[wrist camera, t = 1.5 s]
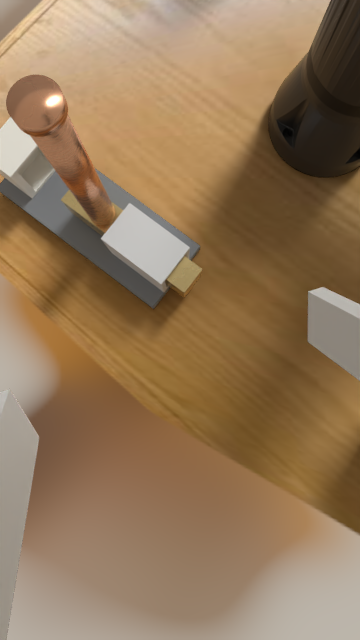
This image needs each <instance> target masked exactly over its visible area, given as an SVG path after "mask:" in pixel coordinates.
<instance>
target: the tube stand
mask: <svg viewBox="0 0 360 640" xmlns="http://www.w3.org/2000/svg"><path fill="white" fill-rule="evenodd" d="M95 170H96V172H97V174H98V176H99V178H100V180H101V182H102V184H103V186H104V188H105V190H106V192H107V194H108V196H109V198H110V200H111V202H113V203H114V204H115V205H117V206H118V207H119V208H121V209H122V210H123V212H122V213H121V214H120V215H119V217H118V218H117V219H116V220H115V222H114V223H113V224H112V225H111V227H110V228H109V229H108V230H107V232H106V233H105V234H104V235H103V236H102V235H100V234H99V233H98V232H96V231H95V230H94V229H92V228H91V227H90V226H88V225H87V224H86V223H84V222H83V221H82V220H80V219H79V218H78V217H76V216H75V215H74V214H72V213H71V212H70V211H69V209H68V208H67V207H66V206H65V205H64V203H63V202H62V201H61V199H62V198H63V196H64V195H65V194H66V193H67V192H68V190H69V189H68V187H67V186H66V184H65V183H64V182H63V180H62V179H61V178H60V176H59V175H58V173H57V172H56V171H55V169H54V168H53V166H52V165H51V164H50V162H49V161H48V160H47V158H46V157H45V155H44V154H43V153H42V151H41V150H40V149H39V147H38V146H37V144H36V143H35V142H34V140H33V139H32V137H31V136H30V135H28V134H26V133H24V132H23V131H22V130H20V128H19V127H18V126H17V125H16V123H15V122H14V121H13V119H12V118H11V117H10V118H9V119H8V121H7V122H6V123H5V124H4V125H3V126H2V128H1V129H0V174H1V175H2V176H3V177H4V178H5V179H4V180H3V181H2V182H1V183H0V192H1V193H2V194H3V195H5V196H6V197H7V198H9V199H10V200H11V201H12V202H14V203H15V204H16V205H18V206H19V207H20V208H22V209H23V210H24V211H26V212H27V213H28V214H30V215H31V216H32V217H33V218H35V219H36V220H37V221H39V222H40V223H41V224H43V225H44V226H45V227H47V228H48V229H49V230H51V231H52V232H53V233H54V234H56V235H57V236H58V237H60V238H61V239H62V240H64V241H65V242H66V243H68V244H69V245H70V246H71V247H73V248H74V249H75V250H77V251H78V252H79V253H81V254H82V255H83V256H85V257H86V258H87V259H89V260H90V261H91V262H92V263H94V264H95V265H96V266H98V267H99V268H100V269H102V270H103V271H104V272H106V273H107V274H108V275H110V276H111V277H112V278H113V279H115V280H116V281H117V282H119V283H120V284H121V285H123V286H124V287H125V288H127V289H128V290H129V291H131V292H132V293H133V294H134V295H136V296H137V297H138V298H140V299H141V300H142V301H144V302H145V303H146V304H148V305H149V306H150V307H152V308H153V309H154V308H155V307H156V305H157V304H158V303H159V302H160V300H161V299H162V298H163V296H164V295H165V294H166V293H167V291H168V290H169V289H170V287H169V286H168V285H167V284H165V280H166V279H167V278H168V276H169V275H170V274H171V273H172V271H173V270H174V269H175V267H176V266H177V265H178V264H179V262H180V261H181V260H182V258H183V257H184V256H185V257H187V258H188V259H189V260H192V259H193V258H194V256H195V255H196V254H197V253H198V251H199V250H200V245H198V244H197V243H196V242H194V241H193V240H191V239H190V238H189V237H187V236H186V235H185V234H183V233H182V232H181V231H179V230H178V229H177V228H175V227H174V226H172V225H171V224H170V223H168V222H167V221H166V220H164V219H163V218H162V217H160V216H159V215H158V214H156V213H155V212H153V211H152V210H151V209H149V208H148V207H147V206H145V205H144V204H143V203H141V202H140V201H139V200H137V199H136V198H134V197H133V196H132V195H130V194H129V193H128V192H126V191H125V190H124V189H122V188H121V187H120V186H118V185H117V184H116V183H114V182H113V181H111V180H110V179H109V178H107V177H106V176H105V175H103V174H102V173H101V172H99V171H98V170H97V169H95Z"/></svg>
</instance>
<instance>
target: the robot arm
mask: <svg viewBox="0 0 360 640" xmlns="http://www.w3.org/2000/svg"><path fill="white" fill-rule="evenodd" d="M268 126H269V134H270V138H271V141H272V143H273V145H274V147H275V149H276V151H277V152H278V154H279V155H280V156H281V157H282V158H283V159H284V161H286V162H287V163H288V164H289V165H290V166H292V167H293V168H295V169H297V170H298V171H300V172H303V173H305V174H308V175H312V176H317V177H334V176H339V175H343V174H346V173H348V172H351V171H353V170H354V169H356V168H358V167H359V166H360V0H331V1H330V4H329V6H328V8H327V10H326V13H325V15H324V17H323V20H322V22H321V24H320V26H319V29H318V31H317V33H316V36H315V38H314V41H313V43H312V45H311V48H310V50H309V52H308V53H307V54H306V55H305V56H304V58H303V59H302V60H301V61H300V62H299V64H298V65H297V66H296V67H295V68H294V69H293V71H292V72H291V73H290V74H289V75H288V76H287V78H286V79H285V80H284V81H283V83H282V84H281V86H280V88H279V90H278V91H277V94H276V96H275V99H274V101H273V104H272V107H271V110H270V114H269V121H268ZM308 342H309V343H310V344H311V345H313V346H314V347H315V348H317V349H318V350H319V351H321V352H322V353H323V354H325V355H326V356H327V357H329V358H330V359H331V360H333V361H334V362H335V363H337V364H338V365H339V366H341V367H342V368H343V369H345V370H346V371H347V372H349V373H350V374H351V375H353V376H354V377H355V378H357V379H358V380H359V381H360V304H358V303H356V302H354V301H352V300H350V299H347V298H345V297H343V296H341V295H339V294H337V293H335V292H333V291H331V290H328V289H326V288H324V287H321V288H318V289H315V290H312V291H308ZM38 442H39V436H38V434H37V432H36V431H35V429H34V428H33V426H32V424H31V423H30V421H29V419H28V418H27V416H26V415H25V413H24V411H23V410H22V408H21V406H20V405H19V403H18V401H17V400H16V398H15V397H14V395H13V393H12V392H11V390H10V389H8V390H5V391H2V392H0V640H6V638H7V632H8V626H9V620H10V614H11V608H12V602H13V596H14V590H15V583H16V577H17V571H18V565H19V559H20V553H21V547H22V541H23V534H24V528H25V522H26V516H27V510H28V504H29V498H30V491H31V485H32V479H33V473H34V467H35V460H36V454H37V448H38Z"/></svg>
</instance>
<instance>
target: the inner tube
mask: <svg viewBox="0 0 360 640" xmlns="http://www.w3.org/2000/svg"><path fill="white" fill-rule="evenodd" d="M6 106H7V110H8V113H9V115H10V116H11V118H12V119H13V121H14V122H15V123H16V125H17V126H18V127H19V128H20V130H22V131H23V132H24V133H26V134H28V135H30V136H31V137H32V139H33V140H34V142H35V143H36V144H37V146H38V147H39V149H40V150H41V151H42V153H43V154H44V155H45V157H46V158H47V160H48V161H49V162H50V164H51V165H52V166H53V168H54V169H55V171H56V172H57V173H58V175H59V176H60V178H61V179H62V180H63V182H64V183H65V184H66V186H67V187H68V189H69V190H68V192H67V193H66V194H65V195H64V196H63V198H62V199H61V201H62V202H63V203H64V205H65V206H66V207H67V208H68V209H69V211H70V212H71V213H72V214H74V215H75V216H76V217H78V218H79V219H80V220H82V221H83V222H84V223H86V224H87V225H88V226H90V227H91V228H92V229H94V230H95V231H96V232H98V233H99V234H100V235H102V236H103V235H104V234H105V233H106V232H107V230H108V229H109V228H110V227H111V225H112V224H113V223H114V222H115V220H116V219H117V218H118V217H119V215H120V214H121V213H122V212H123V210H122V209H121V208H119V207H118V206H117V205H115V204H114V203H113V202H111V200H110V198H109V196H108V194H107V192H106V190H105V188H104V186H103V184H102V182H101V180H100V178H99V176H98V174H97V172H96V170H95V168H94V166H93V164H92V162H91V160H90V158H89V156H88V154H87V152H86V150H85V148H84V146H83V144H82V142H81V140H80V138H79V136H78V134H77V132H76V130H75V128H74V126H73V124H72V122H71V120H70V118H69V116H68V105H67V102H66V99H65V97H64V95H63V93H62V91H61V89H60V87H59V86H58V84H57V83H56V82H55V81H53V80H52V79H50V78H48V77H46V76H43V75H30V76H26V77H24V78H22V79H20V80H18V81H17V82H16V83H15V84H14V85H13V86H12V87H11V89H10V90H9V93H8V95H7V100H6ZM201 273H202V268H200V267H199V266H198V265H196V264H195V263H193V262H192V261H191V260H189V259H188V258H187V257H185V256H184V257H183V258H182V260H181V261H180V262H179V264H178V265H177V266H176V267H175V269H174V270H173V271H172V273H171V274H170V275H169V276H168V278H167V279H166V280H165V284H167V285H168V286H169V287H171V288H172V289H173V290H175V291H176V292H177V293H178V294H180V295H181V296H182V297H185V296H186V295H187V293H188V292H189V291H190V290H191V288H192V287H193V286H194V284H195V283H196V282H197V280H198V279H199V278H200V277H201Z"/></svg>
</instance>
